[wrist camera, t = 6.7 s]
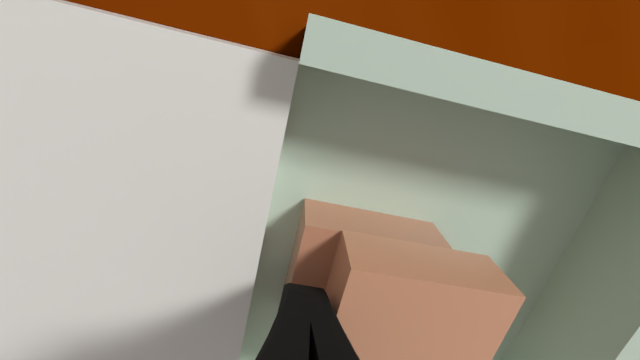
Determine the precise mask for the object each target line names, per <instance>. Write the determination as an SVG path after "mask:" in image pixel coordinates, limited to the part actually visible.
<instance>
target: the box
mask: <svg viewBox="0 0 640 360" xmlns="http://www.w3.org/2000/svg"><path fill="white" fill-rule="evenodd" d="M305 198H307V199H312V200H317V201H322V202H328V203H333V204H338V205H343V206H348V207H354V208H359V209H364V210H369V211H375V212H380V213H385V214H390V215H396V216H401V217H406V218H411V219H416V220H422V221H427V222H432V223H433V224H434V225H435V226H436V228H437V229H438V230H439V232H440V233H441V234H442V235H443V237H444V238H445V239H446V241H447V242H448V243H449V245H450V246H451V247H452V249H454V250H459V251H465V252H471V253H476V254H482V255H487V256H489V257H490V258H491V259H492V260H493V261H494V262H495V264H496V265H497V266H498V267H499V268H500V269H501V270H502V271H503V272H504V273H505V275H506V276H507V277H508V278H509V279H510V280H511V281H512V282H513V283H514V284H515V286H516V287H517V288H518V289H519V290H520V291H521V292H522V293H523V294H524V295H525V297H526V299H525V301H524V303H523V304H522V306H521V308H520V310H519V312H518V313H517V315H516V317H515V319H514V321H513V322H512V324H511V326H510V328H509V330H508V332H507V333H506V335H505V337H504V339H503V341H502V342H501V344H500V346H499V348H498V350H497V351H496V353H495V355H494V357H493V359H492V360H640V101H636V100H632V99H628V98H625V97H621V96H617V95H614V94H610V93H606V92H602V91H599V90H595V89H591V88H587V87H584V86H580V85H576V84H572V83H569V82H565V81H561V80H557V79H554V78H550V77H546V76H542V75H539V74H535V73H531V72H528V71H524V70H520V69H516V68H513V67H509V66H505V65H501V64H498V63H494V62H490V61H486V60H483V59H479V58H475V57H471V56H468V55H464V54H460V53H456V52H453V51H449V50H445V49H442V48H438V47H434V46H430V45H427V44H423V43H419V42H415V41H412V40H408V39H404V38H400V37H397V36H393V35H389V34H385V33H382V32H378V31H374V30H370V29H367V28H363V27H359V26H356V25H352V24H348V23H344V22H341V21H337V20H333V19H329V18H326V17H322V16H318V15H314V14H311V13H309V16H308V21H307V25H306V30H305V35H304V40H303V45H302V50H301V55H300V60H299V65H298V70H297V75H296V80H295V85H294V90H293V95H292V100H291V105H290V110H289V115H288V120H287V125H286V130H285V135H284V140H283V145H282V150H281V154H280V159H279V164H278V169H277V174H276V179H275V184H274V189H273V194H272V199H271V204H270V209H269V214H268V219H267V224H266V229H265V234H264V239H263V244H262V249H261V254H260V259H259V264H258V269H257V273H256V278H255V283H254V288H253V293H252V298H251V303H250V308H249V313H248V318H247V323H246V328H245V333H244V338H243V343H242V348H241V353H240V358H239V360H255V359H256V357H257V355H258V353H259V351H260V349H261V347H262V345H263V344H264V342H265V340H266V338H267V336H268V334H269V332H270V329H271V327H272V325H273V322H274V320H275V318H276V316H277V312H278V308H279V304H280V300H281V296H282V292H283V287H284V283H285V279H286V275H287V270H288V266H289V262H290V258H291V254H292V249H293V245H294V241H295V237H296V233H297V228H298V224H299V220H300V216H301V212H302V207H303V203H304V199H305Z"/></svg>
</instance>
